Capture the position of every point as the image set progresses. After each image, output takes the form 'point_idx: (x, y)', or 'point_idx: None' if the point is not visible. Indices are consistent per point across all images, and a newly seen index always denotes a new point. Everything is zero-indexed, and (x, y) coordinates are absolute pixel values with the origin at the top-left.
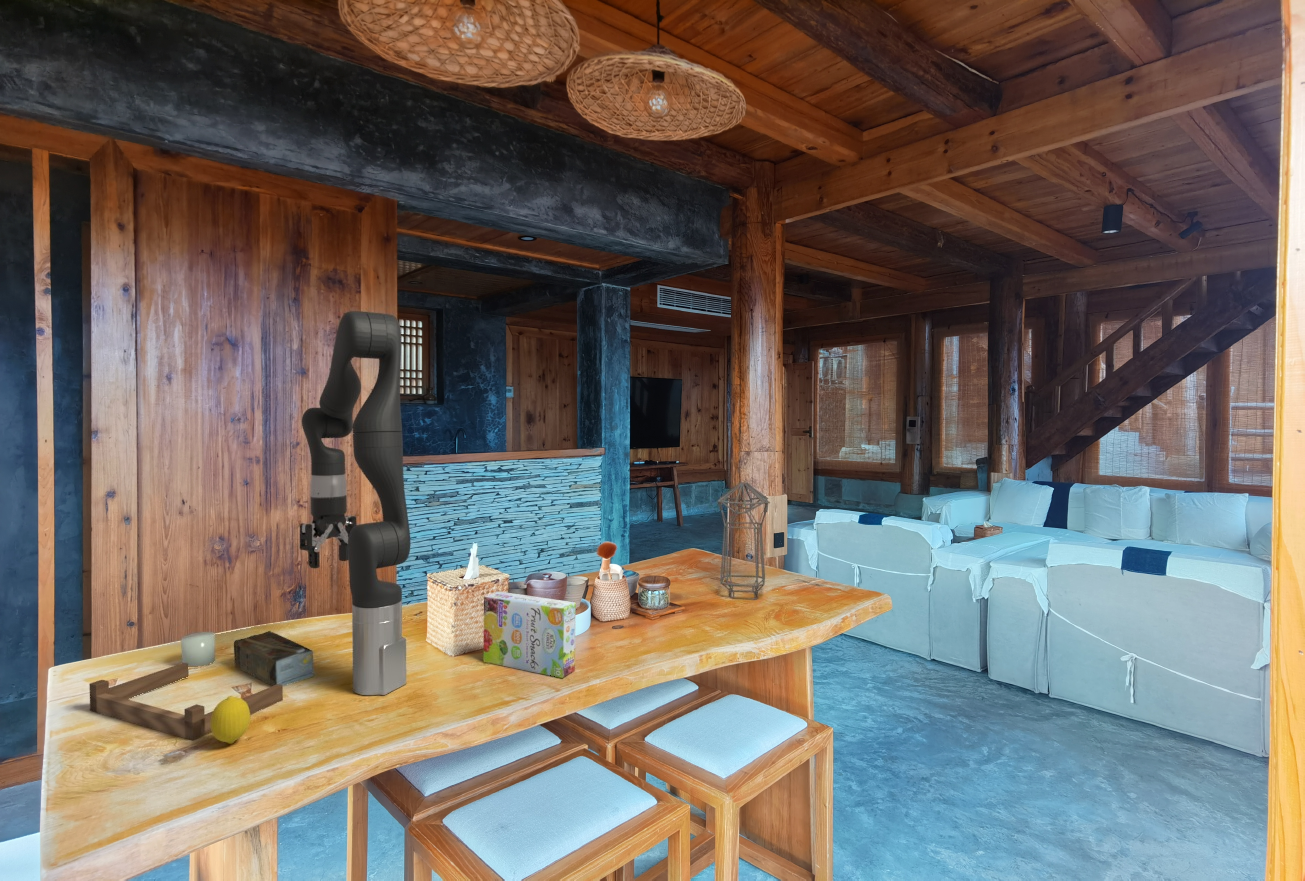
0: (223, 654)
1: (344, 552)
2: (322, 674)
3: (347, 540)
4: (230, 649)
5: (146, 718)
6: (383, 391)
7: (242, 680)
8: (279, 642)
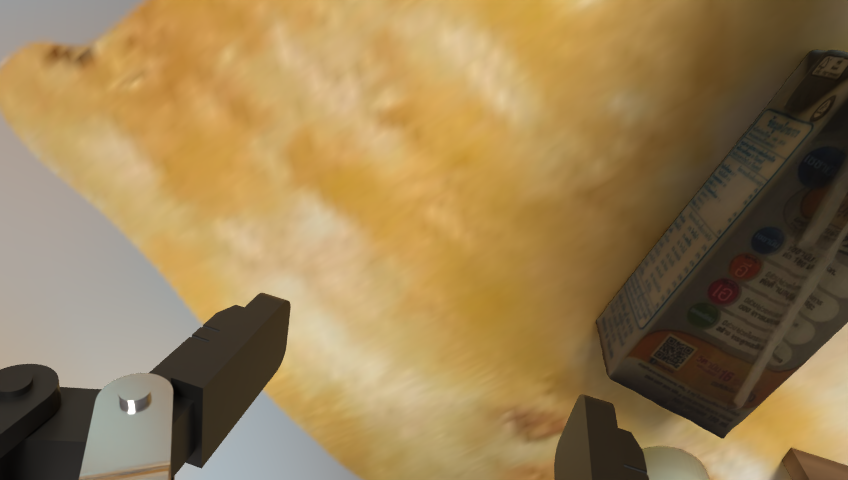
0: None
1: (246, 356)
2: (787, 24)
3: (135, 424)
4: (541, 457)
5: None
6: None
7: None
8: (762, 270)
